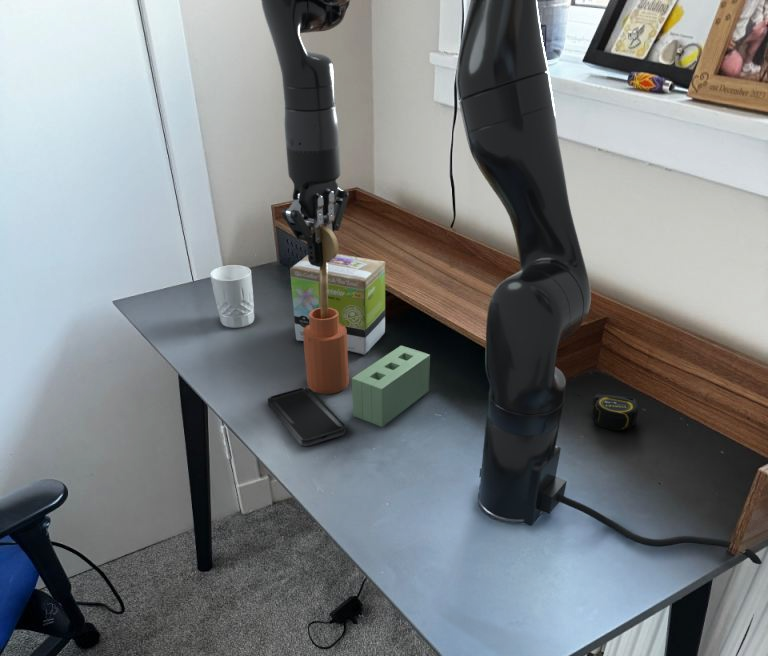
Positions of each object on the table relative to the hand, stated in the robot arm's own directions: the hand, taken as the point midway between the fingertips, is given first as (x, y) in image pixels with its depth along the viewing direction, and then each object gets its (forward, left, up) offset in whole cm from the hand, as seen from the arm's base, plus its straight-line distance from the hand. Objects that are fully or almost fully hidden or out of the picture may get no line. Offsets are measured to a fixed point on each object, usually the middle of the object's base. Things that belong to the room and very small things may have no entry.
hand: (320, 263), depth 113 cm
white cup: (+31, -9, -22) cm, 39 cm away
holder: (-13, -1, -21) cm, 25 cm away
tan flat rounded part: (0, 0, -14) cm, 14 cm away
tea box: (+9, -15, -22) cm, 28 cm away
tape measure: (-45, -17, -22) cm, 53 cm away
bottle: (0, 0, -21) cm, 21 cm away
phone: (-4, +11, -21) cm, 25 cm away
